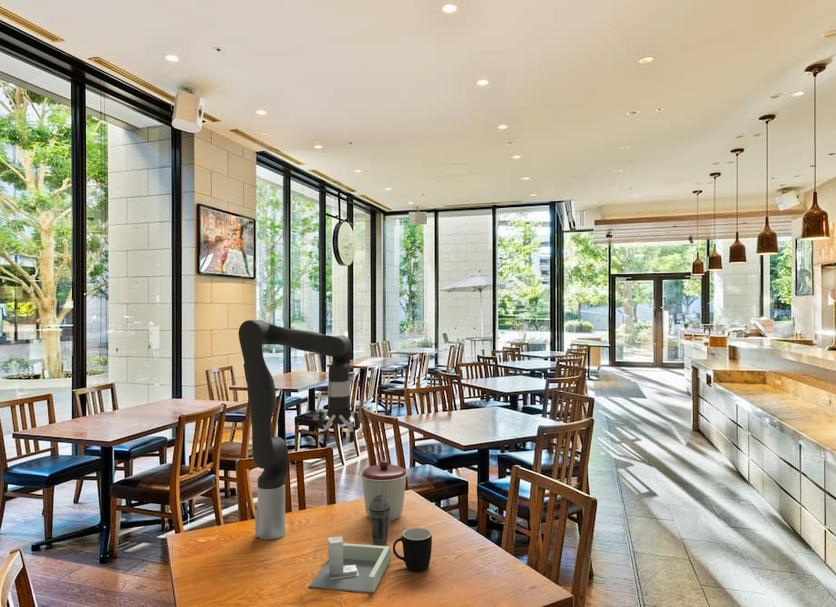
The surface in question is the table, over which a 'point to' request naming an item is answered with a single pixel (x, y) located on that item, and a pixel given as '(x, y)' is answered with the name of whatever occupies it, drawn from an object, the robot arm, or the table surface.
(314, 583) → the mat
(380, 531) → the beverage cup
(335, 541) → the bracket
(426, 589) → the table surface
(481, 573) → the table surface
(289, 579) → the table surface
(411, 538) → the mug
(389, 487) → the canister
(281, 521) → the robot arm
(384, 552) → the corner walls
